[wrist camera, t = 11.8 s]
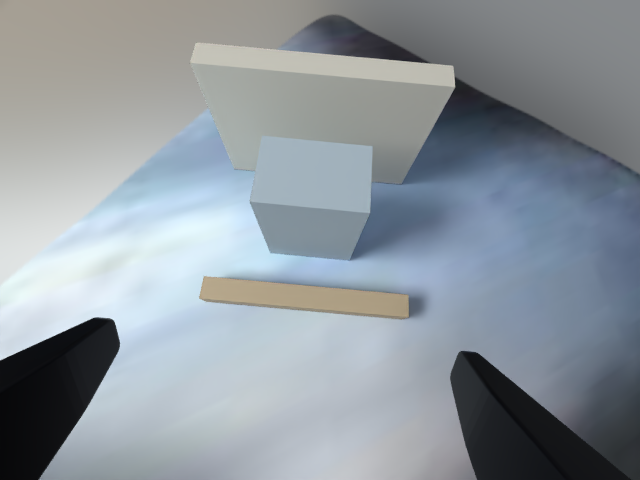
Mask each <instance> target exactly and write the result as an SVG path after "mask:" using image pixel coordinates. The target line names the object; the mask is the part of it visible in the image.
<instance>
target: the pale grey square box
mask: <svg viewBox="0 0 640 480" xmlns="http://www.w3.org/2000/svg"><path fill="white" fill-rule="evenodd" d="M372 151H373V146H365V145H355V144H344V143H334V142H323V141H313V140H303V139H292V138H282V137H271V136H262V139H261V144H260V150H259V155H258V160H257V165H256V171H255V176H254V181H253V186H252V192H251V197H250V204H251V206H252V209H253V211H254V214H255V216H256V219H257V221H258V224H259V226H260V229H261V231H262V234H263V236H264V238H265V241H266V243H267V246H268V248H269V251H270V253H275V254H285V255H295V256H306V257H316V258H327V259H337V260H347V261H349V260H350V258H351V255H352V253H353V251H354V249H355V246H356V244H357V242H358V240H359V237H360V235H361V233H362V231H363V228H364V226H365V224H366V222H367V219H368V217H369V215H370V204H371V178H372Z"/></svg>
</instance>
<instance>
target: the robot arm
mask: <svg viewBox="0 0 640 480" xmlns="http://www.w3.org/2000/svg"><path fill="white" fill-rule="evenodd" d="M119 347H120V341H119V337H118V333H117V329H116V325H115V322H114V321H113V320H112V319H110V318H99V317H97V318H93V319H90V320H88V321H86V322H84V323H81V324H79V325H77V326H75V327H73V328H70V329H68V330H66V331H64V332H62V333H60V334H57V335H55V336H53V337H51V338H49V339H46V340H44V341H42V342H40V343H38V344H35V345H33V346H31V347H29V348H27V349H24V350H22V351H20V352H18V353H16V354H13V355H11V356H9V357H7V358H5V359H3V360H0V480H39V478H40V477H41V475H42V474H43V472H44V471H45V469H46V468H47V467H48V465H49V464H50V462H51V461H52V459H53V458H54V456H55V455H56V453H57V452H58V450H59V449H60V447H61V446H62V444H63V443H64V441H65V440H66V439H67V437H68V436H69V434H70V433H71V431H72V430H73V428H74V427H75V425H76V424H77V422H78V421H79V419H80V418H81V416H82V415H83V413H84V412H85V410H86V408H87V407H88V405H89V403H90V402H91V400H92V398H93V396H94V394H95V393H96V391H97V389H98V387H99V385H100V384H101V382H102V380H103V378H104V376H105V375H106V373H107V371H108V369H109V367H110V366H111V364H112V362H113V360H114V358H115V357H116V355H117V353H118V351H119ZM450 380H451V386H452V390H453V394H454V398H455V403H456V407H457V411H458V416H459V420H460V424H461V429H462V433H463V437H464V441H465V445H466V448H467V451H468V454H469V457H470V460H471V463H472V466H473V469H474V472H475V475H476V478H477V480H631V479H630V478H628V477H627V476H626V475H625V474H624V473H622V472H621V471H620V470H619V469H618V468H616V467H615V466H614V465H613V464H611V463H610V462H609V461H608V460H607V459H605V458H604V457H603V456H602V455H601V454H599V453H598V452H597V451H596V450H595V449H593V448H592V447H591V446H590V445H589V444H587V443H586V442H585V441H584V440H582V439H581V438H580V437H579V436H578V435H576V434H575V433H574V432H573V431H572V430H570V429H569V428H568V427H567V426H566V425H564V424H563V423H562V422H561V421H559V420H558V419H557V418H556V417H555V416H553V415H552V414H551V413H550V412H549V411H547V410H546V409H545V408H544V407H543V406H541V405H540V404H539V403H538V402H536V401H535V400H534V399H533V398H532V397H530V396H529V395H528V394H527V393H526V392H524V391H523V390H522V389H521V388H520V387H518V386H517V385H516V384H515V383H513V382H512V381H511V380H510V379H509V378H507V377H506V376H505V375H504V374H503V373H501V372H500V371H499V370H498V369H497V368H495V367H494V366H493V365H492V364H491V363H489V362H488V361H487V360H486V359H484V358H483V357H482V356H481V355H480V354H478V353H476V352H469V351H461V352H459V353H458V355H457V358H456V361H455V363H454V366H453V369H452V371H451V376H450Z"/></svg>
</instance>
